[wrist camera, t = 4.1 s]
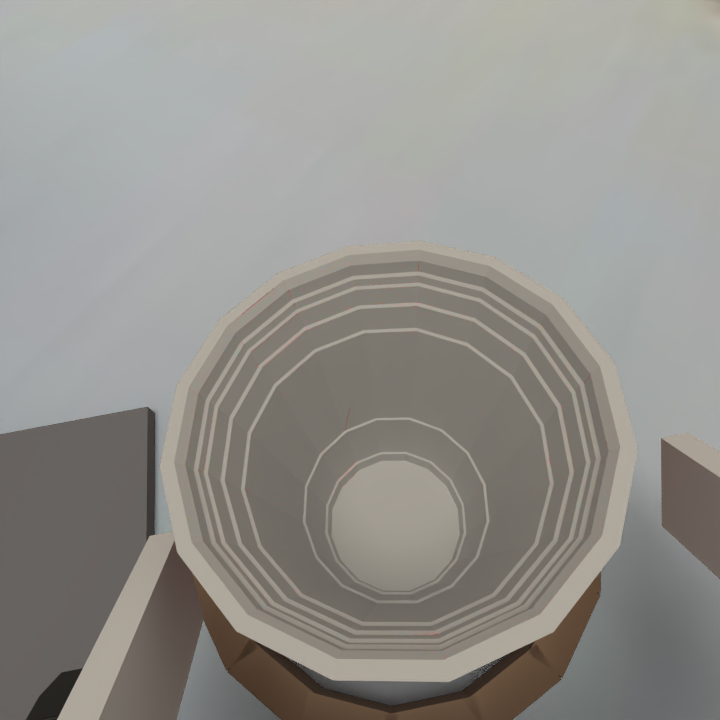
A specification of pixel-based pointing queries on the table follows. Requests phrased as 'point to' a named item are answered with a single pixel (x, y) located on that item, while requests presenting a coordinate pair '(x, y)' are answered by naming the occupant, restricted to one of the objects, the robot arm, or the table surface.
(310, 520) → the plastic cup
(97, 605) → the rubber pad
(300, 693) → the walnut collar
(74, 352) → the table surface
